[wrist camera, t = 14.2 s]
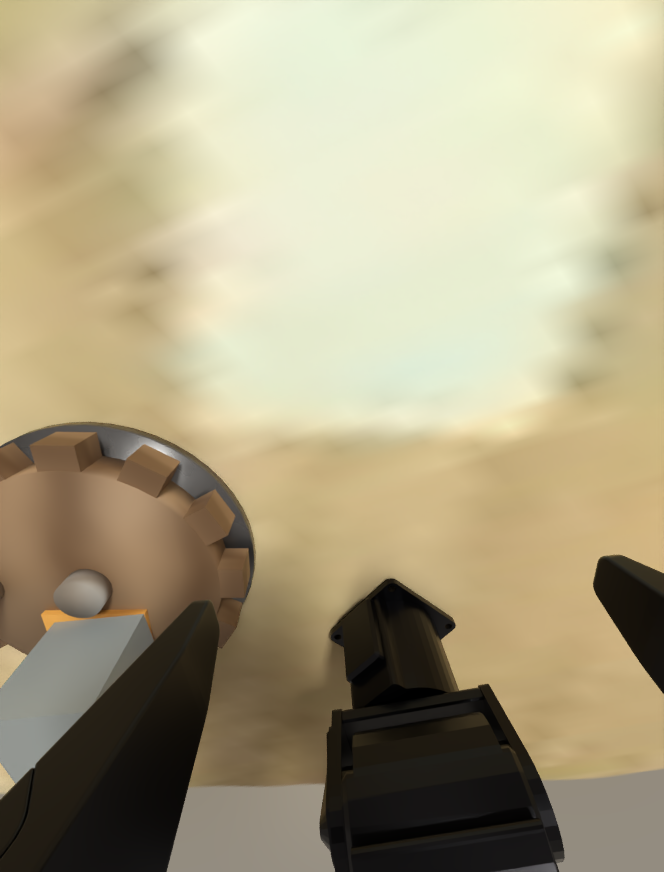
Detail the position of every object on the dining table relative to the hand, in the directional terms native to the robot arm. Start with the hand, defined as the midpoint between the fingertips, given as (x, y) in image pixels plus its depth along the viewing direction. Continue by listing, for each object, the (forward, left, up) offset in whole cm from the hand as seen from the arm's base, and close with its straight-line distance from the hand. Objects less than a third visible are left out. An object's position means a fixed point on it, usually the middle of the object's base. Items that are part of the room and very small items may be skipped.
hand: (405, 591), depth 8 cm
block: (+3, +19, -9) cm, 21 cm away
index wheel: (+6, +16, -12) cm, 21 cm away
